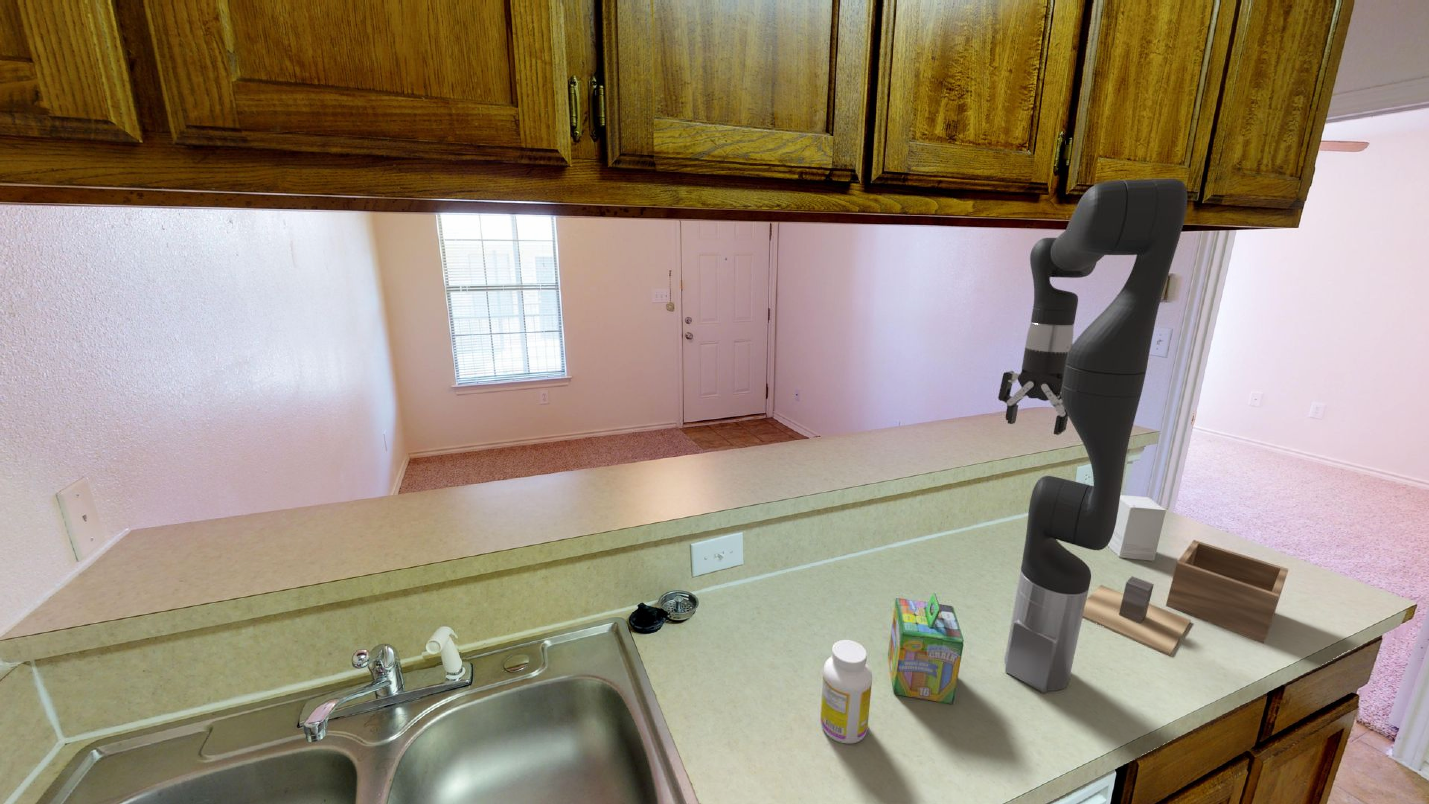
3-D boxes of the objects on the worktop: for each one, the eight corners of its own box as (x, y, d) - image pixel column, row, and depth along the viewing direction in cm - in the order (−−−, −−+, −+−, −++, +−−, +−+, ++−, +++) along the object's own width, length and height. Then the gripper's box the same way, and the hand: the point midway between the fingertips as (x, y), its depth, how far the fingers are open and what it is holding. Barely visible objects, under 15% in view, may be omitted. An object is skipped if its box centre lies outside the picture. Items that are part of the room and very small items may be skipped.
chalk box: (887, 655, 94) (895, 578, 90) (944, 664, 92) (955, 586, 88) (891, 696, 85) (901, 613, 81) (955, 707, 83) (968, 622, 79)
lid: (1168, 658, 95) (1179, 618, 93) (1073, 616, 106) (1081, 579, 104) (1189, 624, 104) (1199, 587, 102) (1100, 588, 115) (1107, 554, 113)
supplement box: (1155, 561, 124) (1167, 510, 121) (1118, 557, 126) (1129, 507, 122) (1137, 545, 131) (1149, 496, 128) (1103, 542, 133) (1113, 493, 129)
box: (1263, 643, 98) (1278, 596, 96) (1165, 605, 108) (1177, 562, 106) (1274, 612, 107) (1288, 569, 104) (1183, 580, 117) (1193, 539, 115)
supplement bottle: (859, 707, 83) (866, 634, 79) (873, 745, 76) (881, 667, 73) (815, 708, 83) (820, 635, 79) (825, 746, 76) (831, 668, 73)
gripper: (1000, 344, 108) (988, 423, 112) (1083, 354, 97) (1066, 441, 101) (1017, 340, 112) (1005, 417, 117) (1097, 350, 102) (1081, 433, 106)
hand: (1033, 428), depth 109 cm, fingers open, 8 cm apart
